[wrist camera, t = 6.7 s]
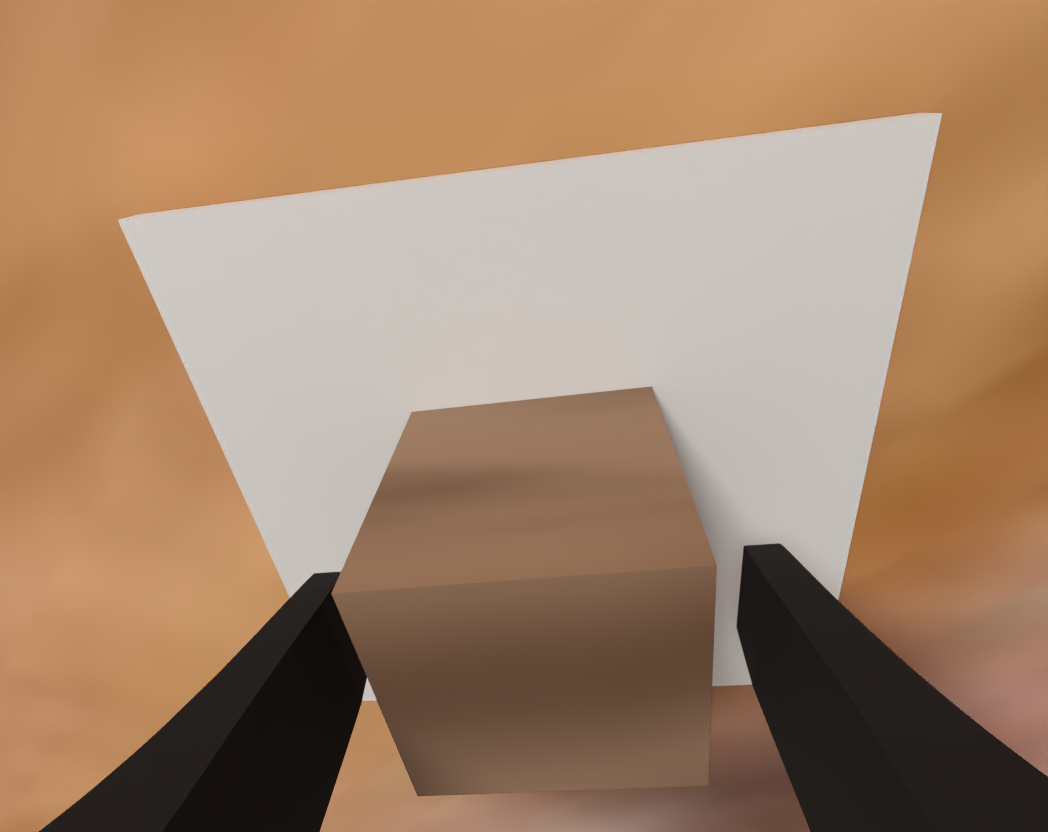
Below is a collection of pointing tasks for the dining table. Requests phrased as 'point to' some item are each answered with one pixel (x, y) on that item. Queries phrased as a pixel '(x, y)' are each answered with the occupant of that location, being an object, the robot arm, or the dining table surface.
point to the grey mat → (562, 326)
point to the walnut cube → (537, 599)
